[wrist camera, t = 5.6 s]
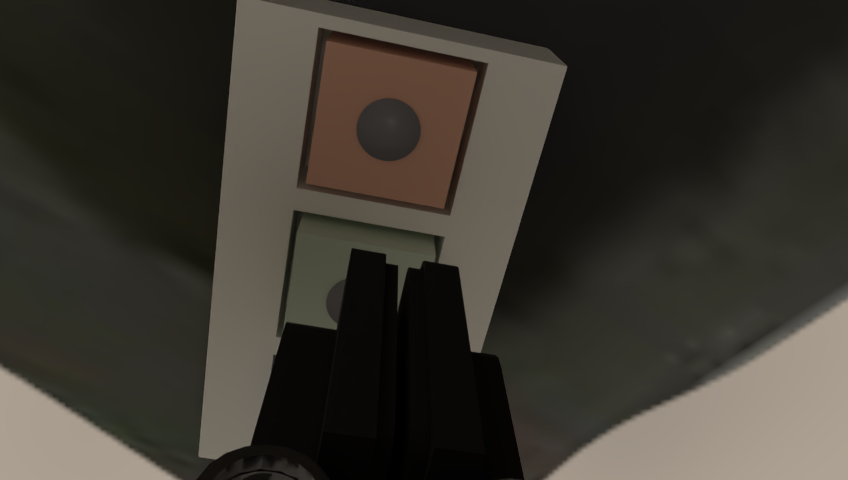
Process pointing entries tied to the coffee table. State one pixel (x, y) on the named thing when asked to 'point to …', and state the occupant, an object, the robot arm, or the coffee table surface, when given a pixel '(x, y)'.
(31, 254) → the coffee table surface
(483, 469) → the robot arm
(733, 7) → the coffee table surface
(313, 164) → the terracotta key
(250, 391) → the keypad
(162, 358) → the coffee table surface
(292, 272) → the sage key
